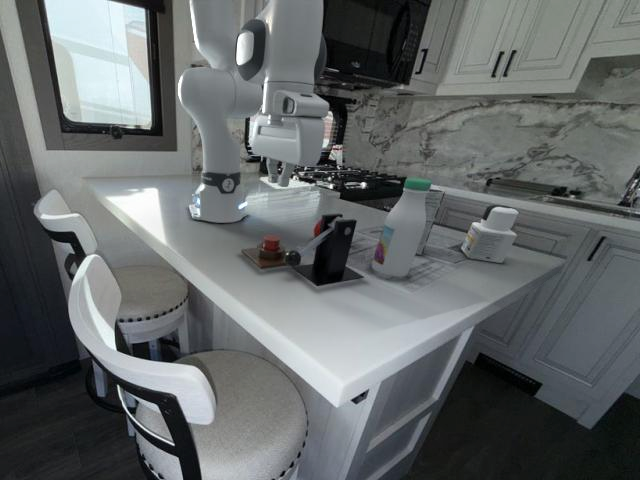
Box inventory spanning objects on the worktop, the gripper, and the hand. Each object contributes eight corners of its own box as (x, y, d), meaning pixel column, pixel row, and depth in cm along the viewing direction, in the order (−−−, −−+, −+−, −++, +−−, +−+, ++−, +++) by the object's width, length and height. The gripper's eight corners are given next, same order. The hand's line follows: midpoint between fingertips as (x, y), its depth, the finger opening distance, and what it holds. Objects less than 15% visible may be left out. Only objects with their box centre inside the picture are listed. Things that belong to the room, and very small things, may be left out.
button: (260, 246, 70) (261, 236, 69) (273, 245, 72) (274, 234, 70) (267, 252, 68) (268, 241, 66) (281, 250, 69) (283, 239, 68)
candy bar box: (392, 239, 90) (411, 180, 81) (410, 241, 89) (431, 182, 81) (402, 253, 80) (424, 188, 72) (422, 255, 80) (447, 190, 71)
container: (460, 248, 86) (481, 201, 79) (491, 253, 84) (516, 205, 77) (467, 258, 80) (491, 208, 73) (502, 263, 78) (529, 212, 71)
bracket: (316, 290, 60) (329, 226, 53) (291, 271, 67) (300, 213, 60) (362, 281, 64) (380, 222, 58) (335, 264, 71) (347, 209, 65)
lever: (293, 272, 59) (288, 260, 57) (284, 265, 61) (279, 253, 59) (350, 231, 60) (347, 218, 58) (339, 226, 62) (336, 213, 60)
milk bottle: (409, 272, 70) (443, 180, 60) (403, 284, 64) (440, 184, 54) (374, 263, 74) (401, 174, 63) (366, 273, 68) (394, 178, 58)
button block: (241, 255, 73) (241, 241, 71) (277, 251, 77) (278, 238, 75) (260, 273, 65) (261, 258, 64) (299, 267, 69) (301, 252, 67)
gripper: (246, 103, 62) (242, 176, 69) (303, 102, 46) (291, 195, 53) (273, 106, 65) (267, 175, 72) (336, 105, 49) (320, 194, 56)
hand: (277, 184), depth 62 cm, fingers closed
